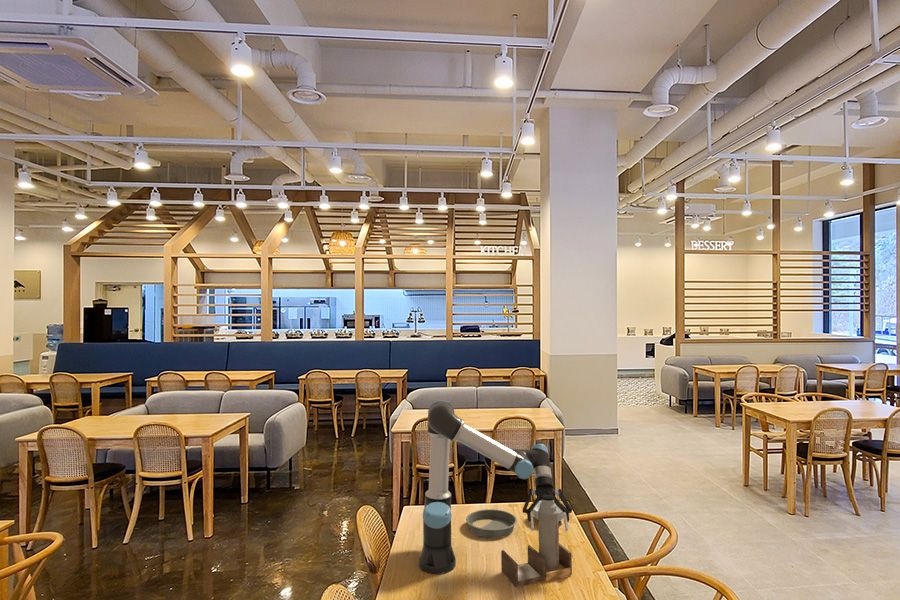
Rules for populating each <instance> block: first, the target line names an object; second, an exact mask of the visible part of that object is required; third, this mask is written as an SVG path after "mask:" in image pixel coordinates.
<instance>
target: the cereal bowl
mask: <svg viewBox="0 0 900 600" xmlns="http://www.w3.org/2000/svg"><path fill="white" fill-rule="evenodd" d="M540 503H542V501H541V500H540V501H539V502H538V503H537V505H536V506H535V507H534V509H533V510H532V511H531V512H532V514H533V518H535V519H536V520H537V521H538V509H539V508H540ZM556 507H557V506H556ZM556 509H557V510H558V522H560V521H562V520H564V517H563V514H564V512H563V511H561V510H560V509H559V508H558V507H557V508H556Z"/></svg>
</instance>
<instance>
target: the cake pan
mask: <svg viewBox="0 0 900 600" xmlns="http://www.w3.org/2000/svg"><path fill="white" fill-rule="evenodd" d="M465 520H466V523H467V524H468V527H469V531H471V532H472V533H473V534H475V535H476V536H479V537H483V538H492V539H493V538H502V537H506V536H508V535H511V534H512V533H513V532H514V528H515V525H516V524H517V522H518V519H517V517H516V516H515V515H514V514H512V513H511V512H508V511H506V510H501V509H495V508H494V509H492V508H491V509H487V508H486V509H479V510H476V511H473V512H471V513H469V514H468V515H467V516H466V519H465ZM481 520H491V521H490V522H489V523H487V524H486V525H484V526H482V527H478V526H476V525H473V524H474V523H475V522H477V521H481Z"/></svg>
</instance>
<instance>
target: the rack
mask: <svg viewBox="0 0 900 600" xmlns="http://www.w3.org/2000/svg"><path fill="white" fill-rule="evenodd" d="M572 555H573V554H572V552H571V551H569V549H567V548H566V547H564V546H563V545H561V543H559V569H558V570H556V571H546V570H545V558H544V557H543V556H542V555H541V554H540V553H539V551H537V550H536V549H535V548H534V547H533V546H531V545H530V544H529V545H527V562H525V563H519V564H518V563H517V561H515V560H514V559H513V558H512V557H511V556H510V555H509V554H508V553H507V552H506V551H505V550H504V549H503V550H501V551H500V556H501V558H500V559H501V563H500V565H501V574H503V575H504V576H505V578H507V580H508V581H509V582H510V583H511V584H512V585H513V586H514V588H521V587H524V586H529V585H532V584H533V585H534V584H537V583H542V582H550V581H554V580H559V579H564V578H567V577H571V576H572V575H573V572H572V571H573V570H572V569H573V564H572V559H573V558H572Z"/></svg>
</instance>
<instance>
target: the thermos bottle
mask: <svg viewBox="0 0 900 600" xmlns="http://www.w3.org/2000/svg"><path fill="white" fill-rule="evenodd" d="M554 496H555V495H554ZM554 496H552V495H548V494H545V495H542V503H540V508H539V509H538V520H537V521H538V522H537V523H538V530H537V531H538V553H540V554H541V555H542V556H543V557H544V558H545V570H546V571H556V570H558V569H559V544H560V543H559V542H560V537H559V535H560V532H559V531H560V530H559V529H560V528H559V527H560V526H559V525H560V524H559V521H558V510H557V509H556V508H557V507H556V504H555V503H554Z"/></svg>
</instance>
